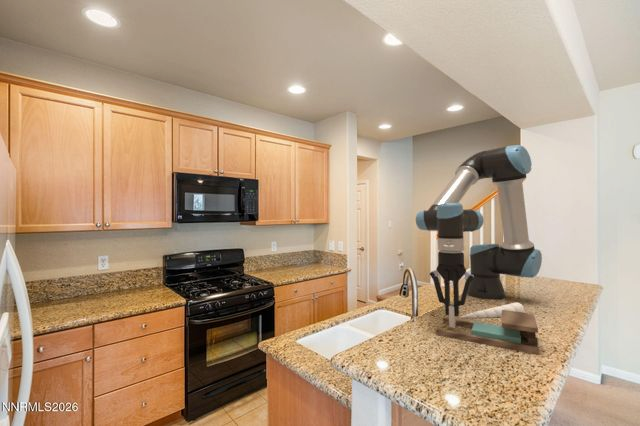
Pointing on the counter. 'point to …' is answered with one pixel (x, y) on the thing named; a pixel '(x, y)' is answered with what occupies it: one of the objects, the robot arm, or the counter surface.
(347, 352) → the counter surface
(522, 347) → the overhang
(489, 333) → the tile
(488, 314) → the unicorn horn
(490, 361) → the counter surface
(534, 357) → the counter surface
